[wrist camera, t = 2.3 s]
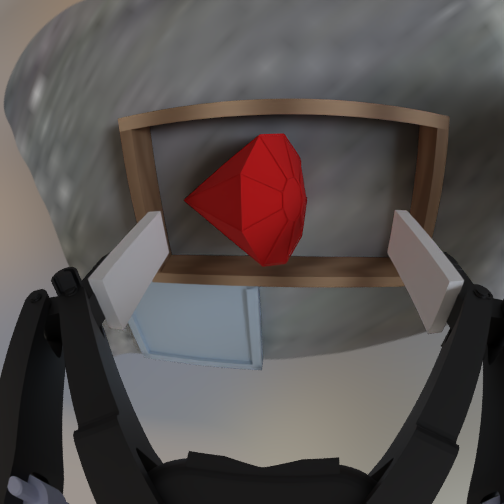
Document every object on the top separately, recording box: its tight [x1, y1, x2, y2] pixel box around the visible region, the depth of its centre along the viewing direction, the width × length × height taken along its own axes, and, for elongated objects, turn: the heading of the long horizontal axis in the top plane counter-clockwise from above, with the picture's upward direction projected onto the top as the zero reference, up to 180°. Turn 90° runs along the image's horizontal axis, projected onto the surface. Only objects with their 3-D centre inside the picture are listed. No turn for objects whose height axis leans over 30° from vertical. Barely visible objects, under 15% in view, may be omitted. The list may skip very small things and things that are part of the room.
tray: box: [128, 282, 263, 370], centre depth 29 cm, size 15×13×2 cm
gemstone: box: [184, 134, 307, 267], centre depth 20 cm, size 9×9×10 cm
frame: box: [118, 99, 449, 287], centre depth 20 cm, size 23×14×3 cm, turn 93°
